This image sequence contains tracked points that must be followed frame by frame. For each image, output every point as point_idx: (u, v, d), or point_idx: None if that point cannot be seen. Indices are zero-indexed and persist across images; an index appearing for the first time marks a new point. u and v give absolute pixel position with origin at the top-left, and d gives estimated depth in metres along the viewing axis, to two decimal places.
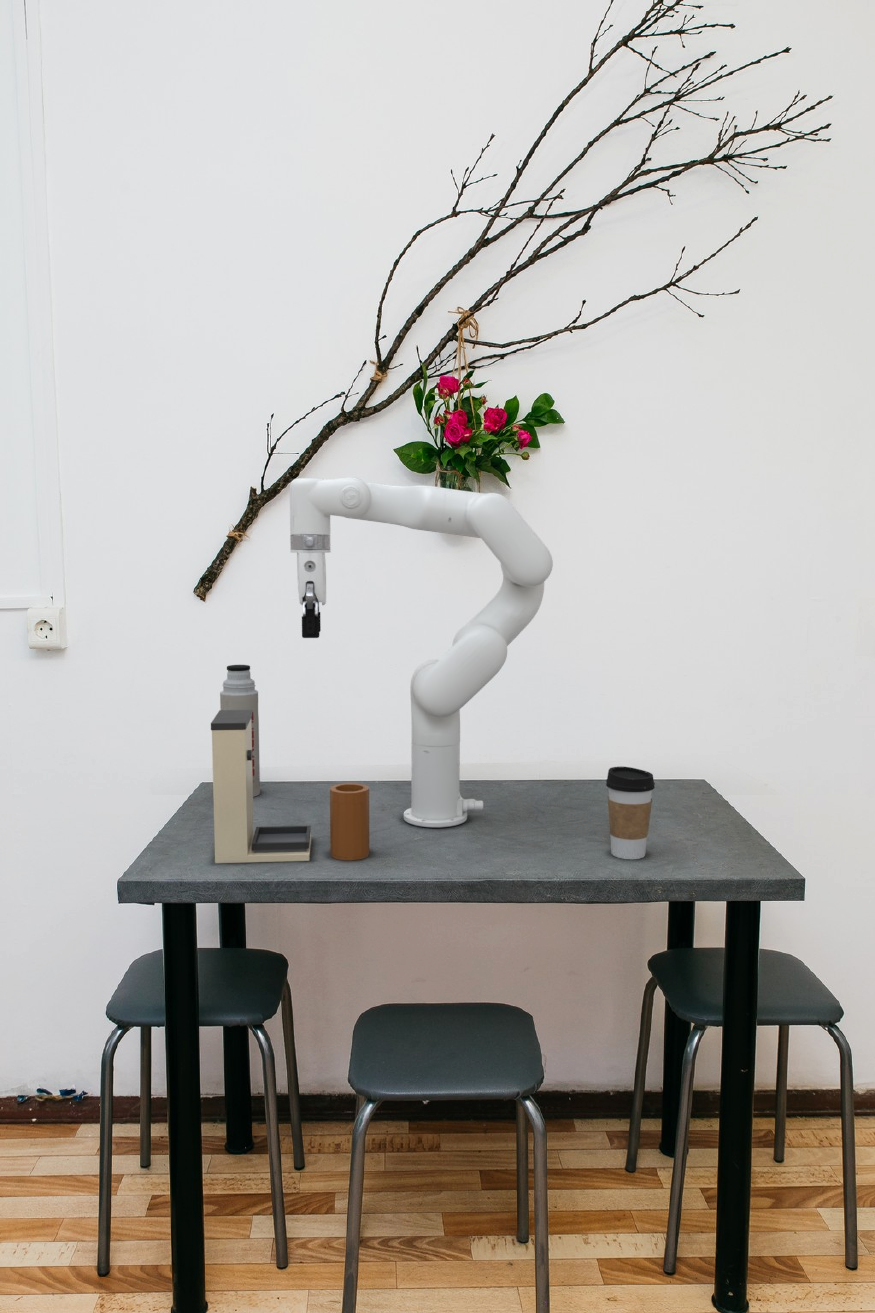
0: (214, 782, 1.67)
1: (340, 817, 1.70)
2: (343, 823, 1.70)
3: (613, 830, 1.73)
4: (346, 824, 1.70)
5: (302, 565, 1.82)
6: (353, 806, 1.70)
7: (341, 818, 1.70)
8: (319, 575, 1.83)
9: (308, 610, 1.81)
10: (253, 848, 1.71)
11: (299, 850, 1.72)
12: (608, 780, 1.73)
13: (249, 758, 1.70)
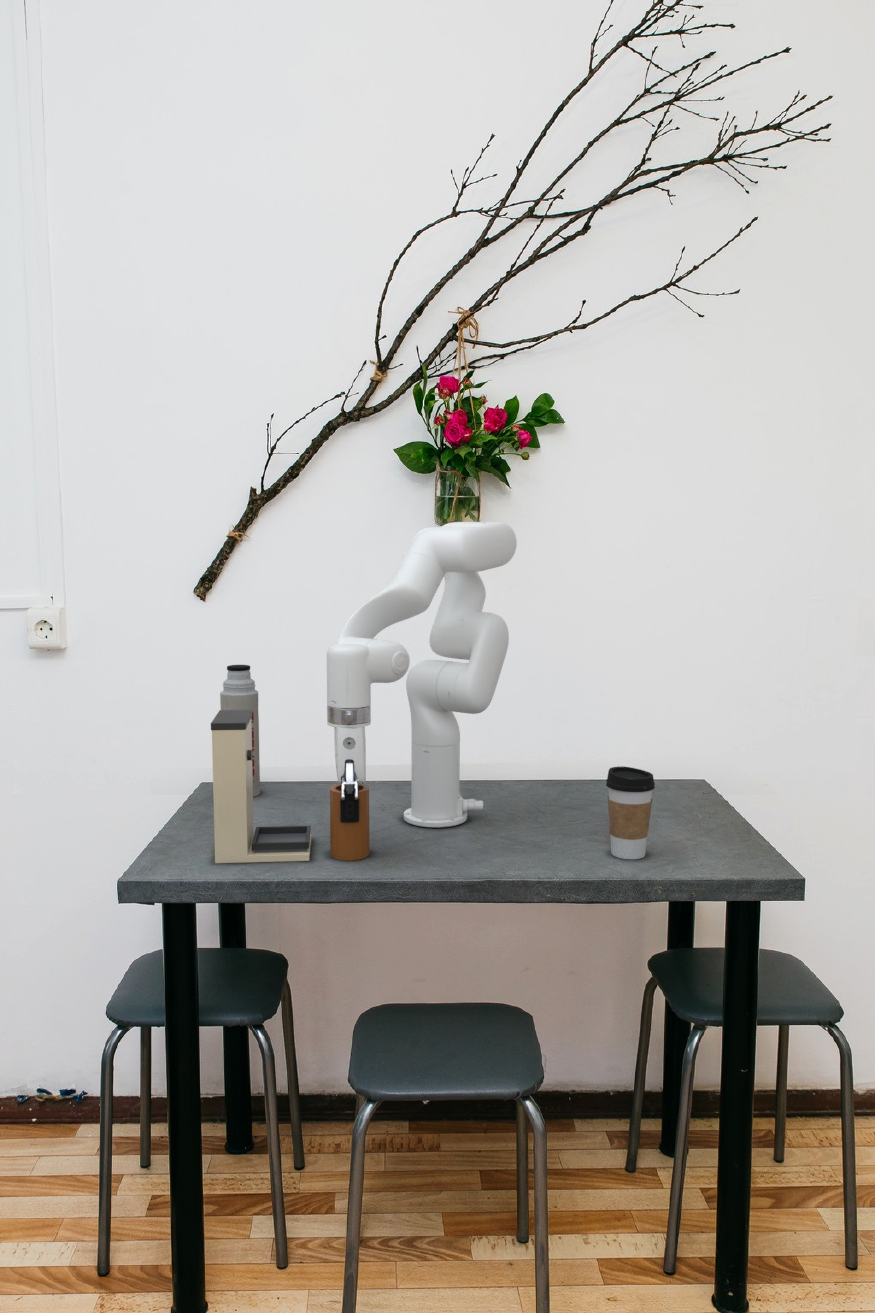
0: (214, 782, 1.67)
1: None
2: (343, 823, 1.70)
3: (613, 830, 1.73)
4: (346, 824, 1.70)
5: (341, 742, 1.67)
6: None
7: None
8: (359, 753, 1.67)
9: (348, 795, 1.67)
10: (253, 848, 1.71)
11: (299, 850, 1.72)
12: (608, 780, 1.73)
13: (249, 758, 1.70)
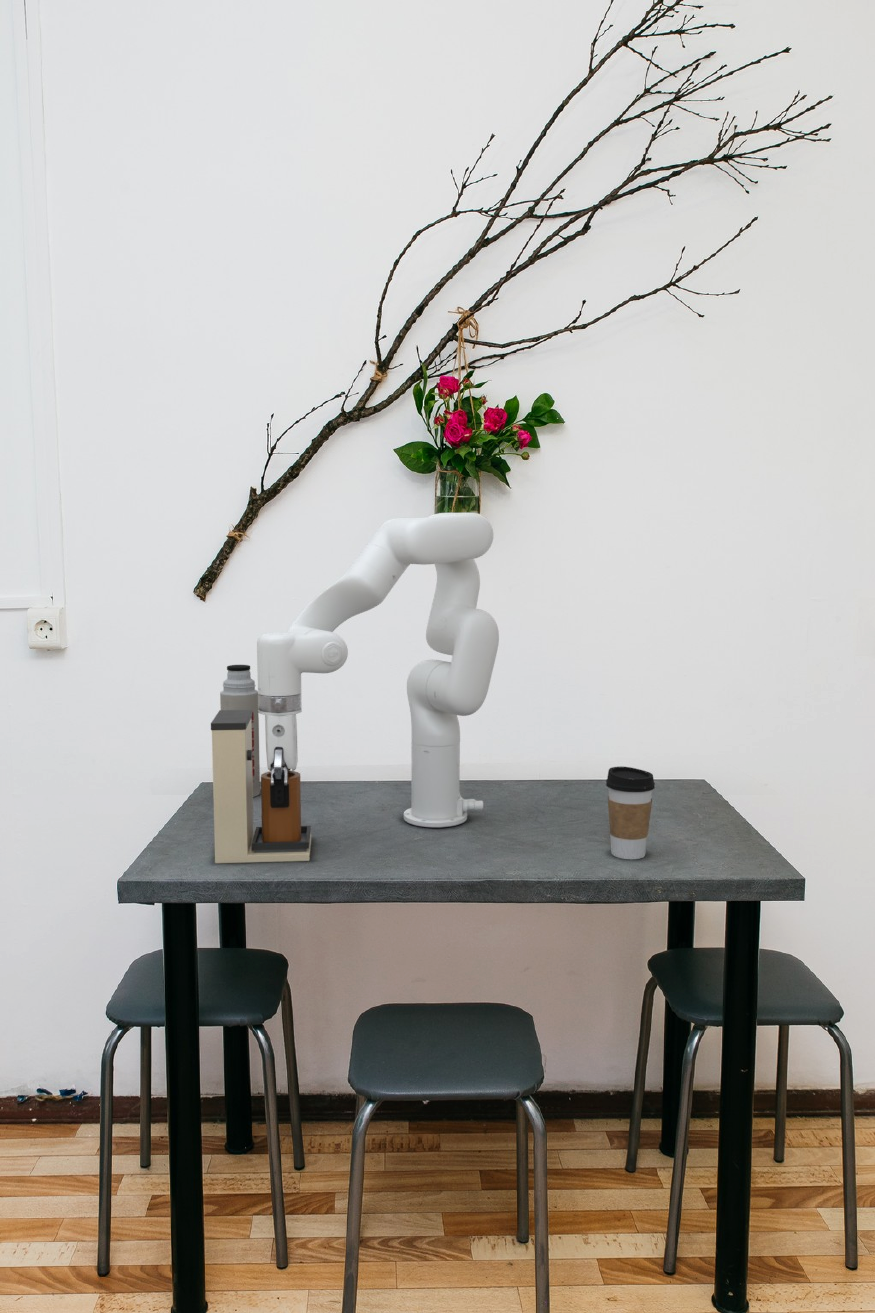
0: (214, 782, 1.67)
1: None
2: (273, 810, 1.72)
3: (613, 830, 1.73)
4: (276, 810, 1.72)
5: (270, 730, 1.69)
6: None
7: None
8: (289, 740, 1.69)
9: (276, 780, 1.68)
10: (253, 848, 1.71)
11: (299, 850, 1.72)
12: (608, 780, 1.73)
13: (249, 758, 1.70)
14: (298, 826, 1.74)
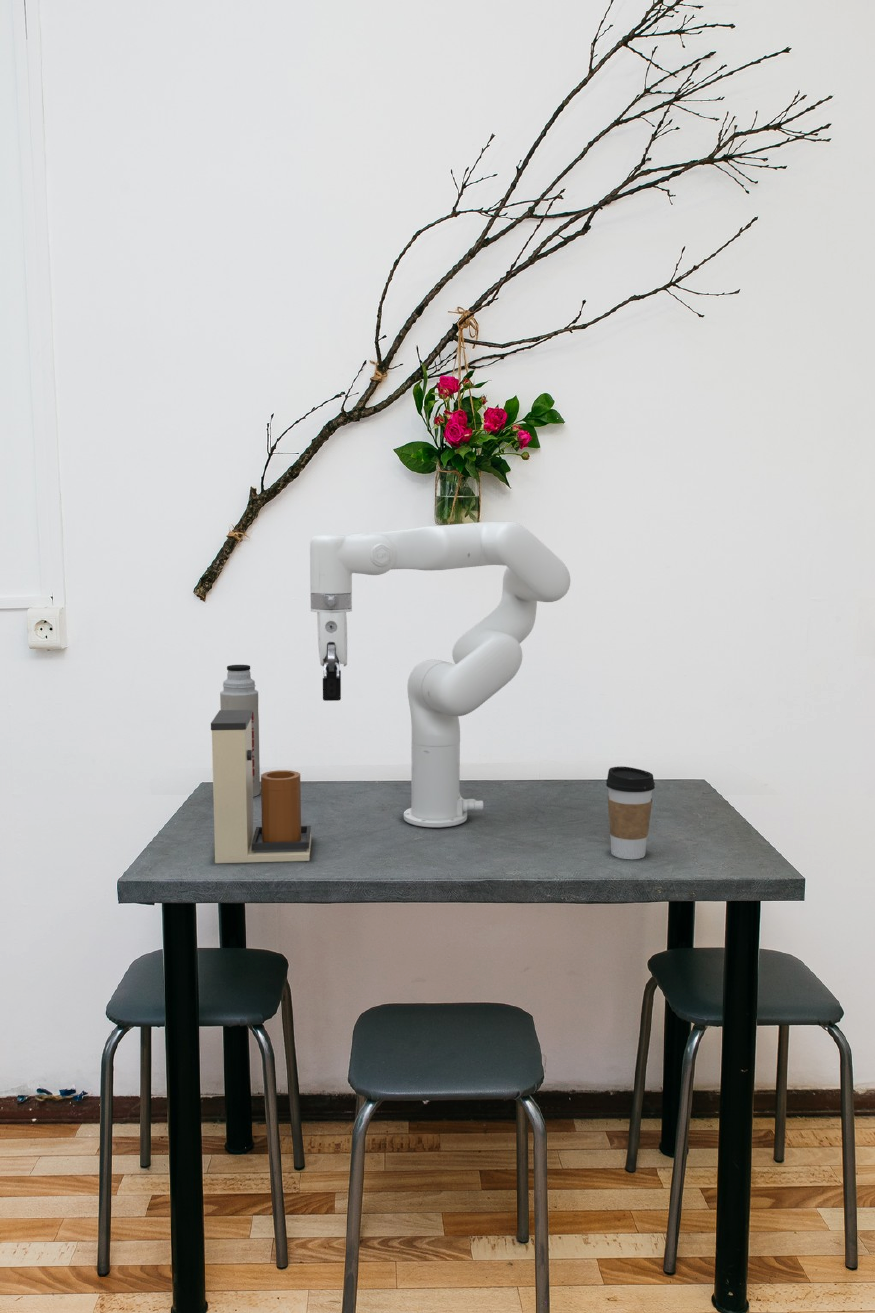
0: (214, 782, 1.67)
1: (270, 804, 1.72)
2: (273, 810, 1.72)
3: (613, 830, 1.73)
4: (276, 810, 1.72)
5: (323, 626, 1.76)
6: (283, 792, 1.71)
7: (271, 804, 1.72)
8: (341, 636, 1.76)
9: (329, 673, 1.75)
10: (253, 848, 1.71)
11: (299, 850, 1.72)
12: (608, 780, 1.73)
13: (249, 758, 1.70)
14: (298, 826, 1.74)
